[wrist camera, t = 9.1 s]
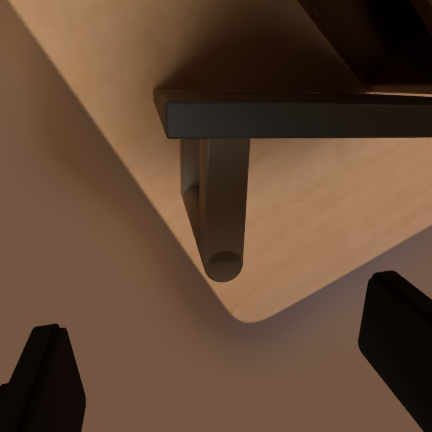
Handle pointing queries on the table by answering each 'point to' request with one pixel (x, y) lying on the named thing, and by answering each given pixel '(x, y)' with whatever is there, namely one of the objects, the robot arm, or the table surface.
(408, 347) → the robot arm
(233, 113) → the door
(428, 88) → the cabinet
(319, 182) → the table surface
